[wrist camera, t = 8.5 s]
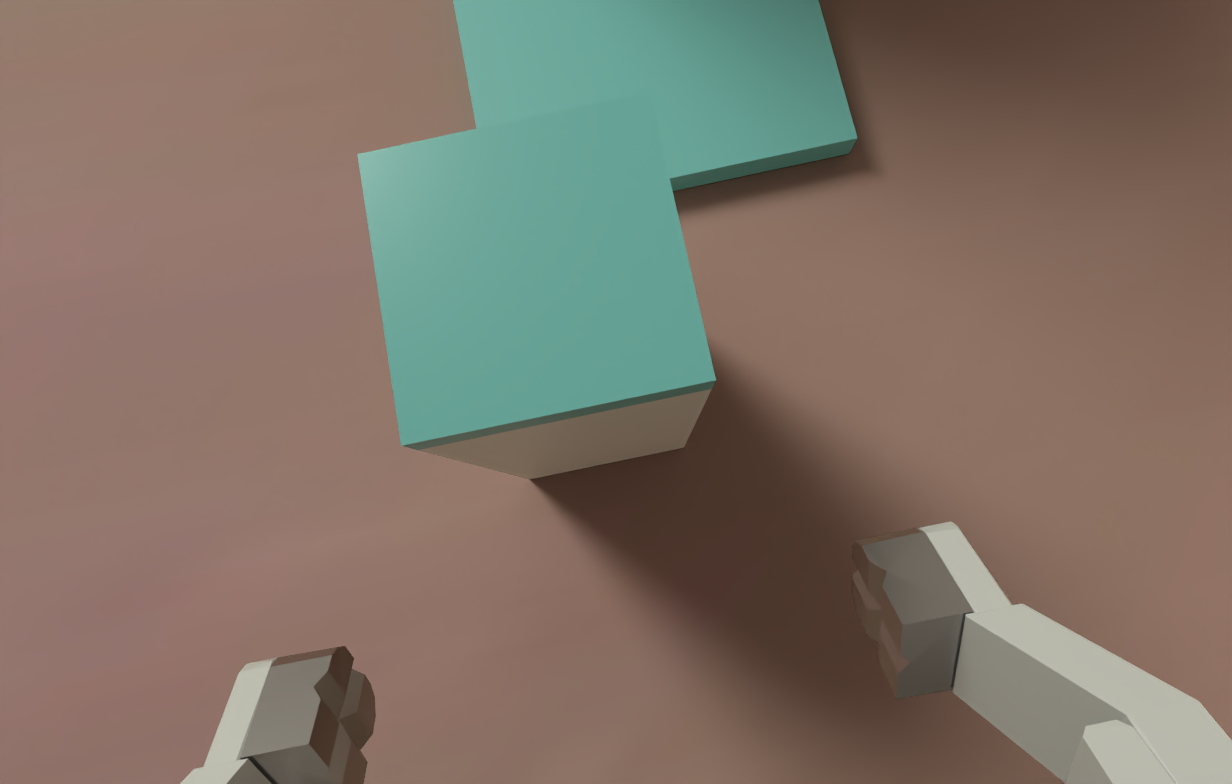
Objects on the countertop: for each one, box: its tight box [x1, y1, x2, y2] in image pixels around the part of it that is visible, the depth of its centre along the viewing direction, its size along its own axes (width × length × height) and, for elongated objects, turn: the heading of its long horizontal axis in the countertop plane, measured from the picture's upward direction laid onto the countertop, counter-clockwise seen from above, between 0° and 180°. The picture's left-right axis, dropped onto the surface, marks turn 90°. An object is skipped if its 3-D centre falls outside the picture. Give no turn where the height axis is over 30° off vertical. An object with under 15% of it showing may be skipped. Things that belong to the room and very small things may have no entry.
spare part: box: [358, 91, 716, 479], centre depth 17 cm, size 5×5×12 cm
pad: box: [453, 0, 857, 191], centre depth 25 cm, size 12×12×1 cm
